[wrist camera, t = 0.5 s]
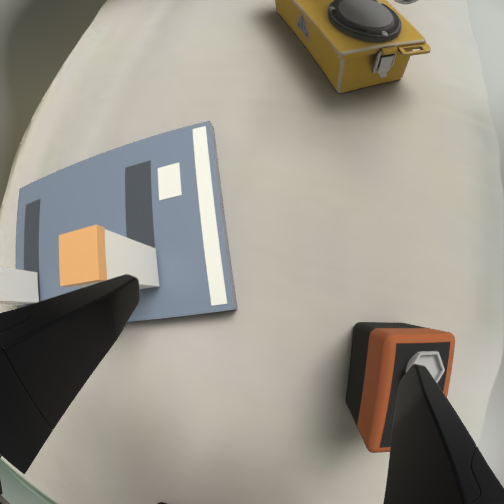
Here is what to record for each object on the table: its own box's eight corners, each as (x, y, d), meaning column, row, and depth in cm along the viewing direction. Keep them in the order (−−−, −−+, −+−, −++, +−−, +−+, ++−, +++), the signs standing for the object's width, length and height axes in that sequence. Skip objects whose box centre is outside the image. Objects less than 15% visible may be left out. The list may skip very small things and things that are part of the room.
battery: (404, 322, 22) (466, 334, 12) (394, 403, 21) (443, 455, 11) (353, 321, 23) (390, 336, 13) (343, 404, 22) (369, 463, 12)
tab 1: (39, 302, 25) (-24, 299, 17) (21, 305, 25) (-38, 301, 17) (37, 271, 25) (-24, 261, 17) (20, 275, 26) (-38, 266, 18)
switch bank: (237, 308, 24) (233, 309, 22) (28, 328, 27) (19, 328, 25) (213, 129, 27) (209, 120, 25) (27, 192, 30) (19, 188, 28)
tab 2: (160, 287, 23) (99, 279, 15) (126, 291, 24) (60, 286, 16) (156, 247, 24) (96, 224, 16) (123, 254, 24) (58, 235, 16)
